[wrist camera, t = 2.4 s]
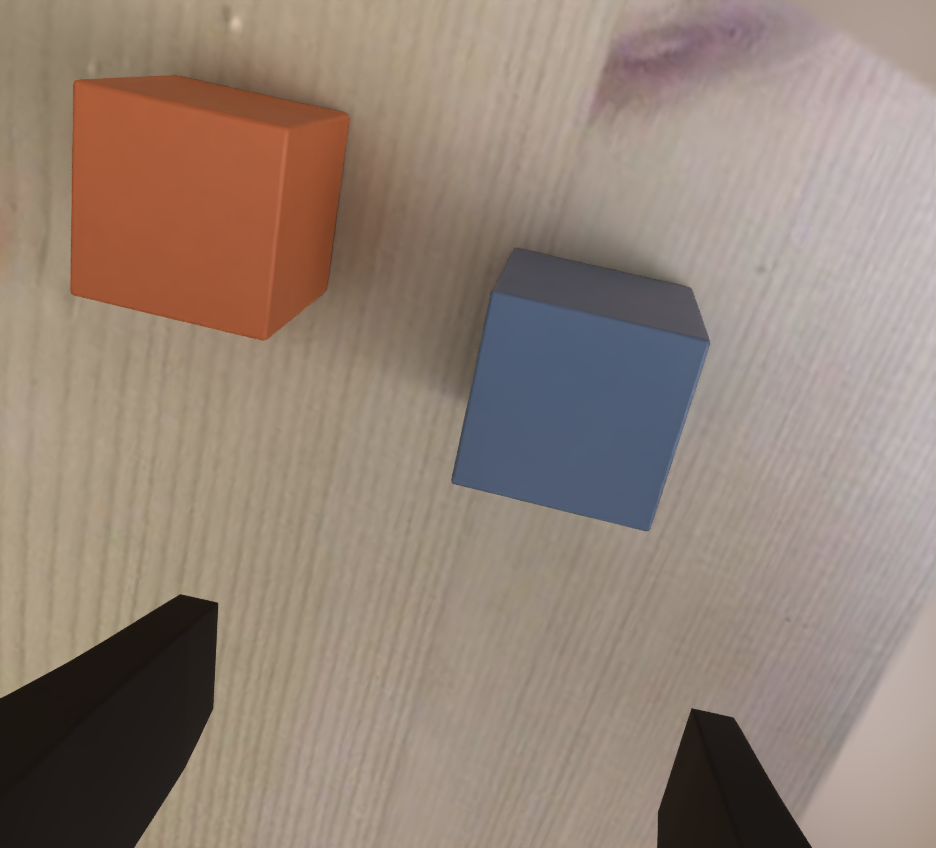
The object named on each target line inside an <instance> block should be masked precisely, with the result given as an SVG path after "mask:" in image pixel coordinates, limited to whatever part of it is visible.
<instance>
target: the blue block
mask: <svg viewBox="0 0 936 848" xmlns="http://www.w3.org/2000/svg"><path fill="white" fill-rule="evenodd" d="M709 346H710V340H709V337H708V334H707V331H706V328H705V325H704V323H703V320H702V317H701V314H700V311H699V308H698V305H697V302H696V299H695V296H694V293H693V290H692V289H691V288H689V287H685V286H681V285H676V284H672V283H668V282H663V281H659V280H654V279H650V278H646V277H641V276H637V275H632V274H628V273H624V272H619V271H615V270H611V269H606V268H602V267H597V266H593V265H589V264H584V263H580V262H576V261H571V260H567V259H562V258H558V257H554V256H549V255H545V254H541V253H536V252H532V251H527V250H523V249H519V248H514V249H513V251H512V253H511V255H510V257H509V259H508V261H507V263H506V265H505V267H504V268H503V270H502V272H501V274H500V276H499V278H498V280H497V282H496V284H495V286H494V288H493V290H492V292H491V295H490V299H489V304H488V309H487V314H486V318H485V323H484V328H483V332H482V337H481V342H480V347H479V351H478V356H477V361H476V366H475V370H474V375H473V380H472V385H471V389H470V394H469V399H468V403H467V408H466V413H465V418H464V422H463V427H462V432H461V437H460V441H459V446H458V451H457V456H456V460H455V465H454V470H453V474H452V479H451V480H452V483H453V484H456V485H460V486H464V487H468V488H473V489H477V490H481V491H485V492H489V493H493V494H497V495H501V496H505V497H509V498H513V499H517V500H521V501H525V502H529V503H534V504H538V505H542V506H546V507H550V508H554V509H558V510H562V511H566V512H570V513H574V514H578V515H582V516H586V517H590V518H594V519H599V520H603V521H607V522H611V523H615V524H619V525H623V526H627V527H631V528H635V529H639V530H643V531H649V530H650V529H651V526H652V523H653V520H654V517H655V514H656V511H657V507H658V504H659V501H660V498H661V495H662V492H663V489H664V486H665V483H666V479H667V476H668V473H669V470H670V467H671V464H672V461H673V458H674V455H675V451H676V448H677V445H678V442H679V439H680V436H681V433H682V430H683V427H684V424H685V420H686V417H687V414H688V411H689V408H690V405H691V402H692V399H693V396H694V392H695V389H696V386H697V383H698V380H699V377H700V374H701V371H702V368H703V364H704V361H705V358H706V355H707V352H708V349H709Z"/></svg>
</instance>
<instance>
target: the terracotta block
mask: <svg viewBox="0 0 936 848" xmlns="http://www.w3.org/2000/svg"><path fill="white" fill-rule="evenodd" d="M348 126H349V115H348V114H346V113H343V112H339V111H334V110H330V109H325V108H321V107H316V106H312V105H307V104H303V103H298V102H294V101H289V100H285V99H280V98H276V97H271V96H267V95H262V94H258V93H253V92H249V91H244V90H240V89H235V88H231V87H226V86H222V85H217V84H213V83H208V82H204V81H199V80H195V79H190V78H186V77H181V76H177V75H172V76H148V77H125V78H101V79H79V80H75V81H74V84H73V145H72V215H71V285H70V291H71V294H73V295H75V296H79V297H83V298H87V299H91V300H96V301H100V302H104V303H108V304H112V305H116V306H121V307H125V308H129V309H133V310H137V311H142V312H146V313H150V314H154V315H158V316H162V317H167V318H171V319H175V320H179V321H183V322H188V323H192V324H196V325H200V326H204V327H208V328H213V329H217V330H221V331H225V332H229V333H234V334H238V335H242V336H246V337H250V338H254V339H259V340H267V339H268V338H270V337H271V336H272V335H273V334H274V333H276V332H277V331H278V330H279V329H281V328H282V327H283V326H284V325H285V324H287V323H288V322H289V321H290V320H292V319H293V318H294V317H295V316H296V315H298V314H299V313H300V312H301V311H303V310H304V309H305V308H306V307H307V306H309V305H310V304H311V303H312V302H314V301H315V300H316V299H317V298H318V297H320V296H321V295H322V294H323V293H325V291H326V290H327V283H328V275H329V268H330V261H331V253H332V246H333V238H334V231H335V223H336V216H337V208H338V201H339V193H340V186H341V179H342V171H343V164H344V156H345V149H346V141H347V134H348Z"/></svg>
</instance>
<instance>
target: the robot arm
mask: <svg viewBox="0 0 936 848" xmlns="http://www.w3.org/2000/svg"><path fill="white" fill-rule="evenodd" d="M217 621H218V603H217V602H213V601H208V600H204V599H199V598H195V597H190V596H186V595H181V594H180V595H178V596H177V597H175V598H173V599H172V600H170V601H168V602H167V603H165V604H163V605H162V606H160V607H158V608H157V609H155V610H154V611H152V612H150V613H149V614H147V615H145V616H144V617H142V618H141V619H139V620H137V621H136V622H134V623H132V624H131V625H129V626H128V627H126V628H124V629H123V630H121V631H120V632H118V633H116V634H115V635H113V636H111V637H110V638H108V639H107V640H105V641H103V642H102V643H100V644H98V645H96V646H95V647H93V648H91V649H90V650H88V651H86V652H85V653H83V654H81V655H80V656H78V657H76V658H74V659H73V660H71V661H69V662H68V663H66V664H64V665H62V666H60V667H59V668H57V669H55V670H53V671H51V672H49V673H47V674H46V675H44V676H42V677H40V678H38V679H36V680H34V681H32V682H31V683H29V684H27V685H25V686H23V687H21V688H19V689H18V690H16V691H14V692H12V693H10V694H8V695H6V696H4V697H2V698H0V848H134V847H135V846H136V844H137V842H138V841H139V839H140V838H141V836H142V835H143V833H144V832H145V830H146V828H147V827H148V825H149V824H150V822H151V821H152V819H153V818H154V816H155V815H156V813H157V811H158V810H159V808H160V807H161V805H162V803H163V802H164V800H165V799H166V797H167V796H168V794H169V792H170V791H171V789H172V788H173V786H174V785H175V783H176V781H177V780H178V778H179V777H180V775H181V773H182V772H183V770H184V768H185V767H186V765H187V762H188V760H189V758H190V756H191V754H192V752H193V750H194V748H195V746H196V744H197V742H198V740H199V738H200V736H201V734H202V731H203V729H204V727H205V725H206V723H207V721H208V719H209V716H210V714H211V712H212V710H213V702H214V682H215V662H216V641H217ZM657 848H812V847H811V845H810V844H809V842H808V841H807V839H806V837H805V836H804V835H803V833H802V831H801V830H800V828H799V826H798V825H797V823H796V822H795V820H794V819H793V817H792V815H791V814H790V812H789V811H788V809H787V807H786V806H785V804H784V803H783V801H782V799H781V798H780V796H779V794H778V793H777V791H776V789H775V788H774V786H773V784H772V782H771V781H770V779H769V777H768V776H767V774H766V772H765V771H764V769H763V767H762V765H761V764H760V762H759V760H758V758H757V757H756V755H755V753H754V751H753V750H752V748H751V746H750V744H749V743H748V741H747V739H746V737H745V736H744V734H743V732H742V730H741V729H740V727H739V725H738V724H737V722H736V721H735V719H734V718H733V717H729V716H724V715H720V714H715V713H711V712H706V711H702V710H697V709H693V708H691V712H690V715H689V718H688V721H687V724H686V727H685V730H684V733H683V736H682V739H681V743H680V746H679V749H678V752H677V755H676V758H675V761H674V764H673V767H672V770H671V774H670V777H669V780H668V783H667V786H666V789H665V792H664V795H663V798H662V802H661V805H660V808H659V811H658V838H657Z"/></svg>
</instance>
